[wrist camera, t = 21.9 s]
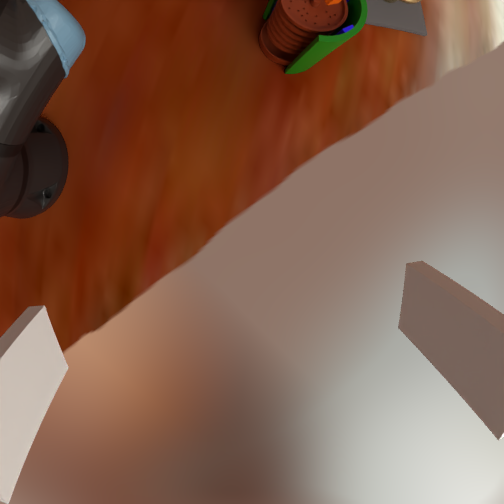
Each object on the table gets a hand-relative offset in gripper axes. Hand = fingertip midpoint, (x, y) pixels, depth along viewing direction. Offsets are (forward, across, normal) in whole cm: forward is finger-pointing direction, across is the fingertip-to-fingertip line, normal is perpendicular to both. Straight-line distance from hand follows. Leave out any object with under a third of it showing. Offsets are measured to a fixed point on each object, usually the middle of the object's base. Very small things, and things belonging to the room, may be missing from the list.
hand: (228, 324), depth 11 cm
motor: (+35, +12, +21) cm, 42 cm away
